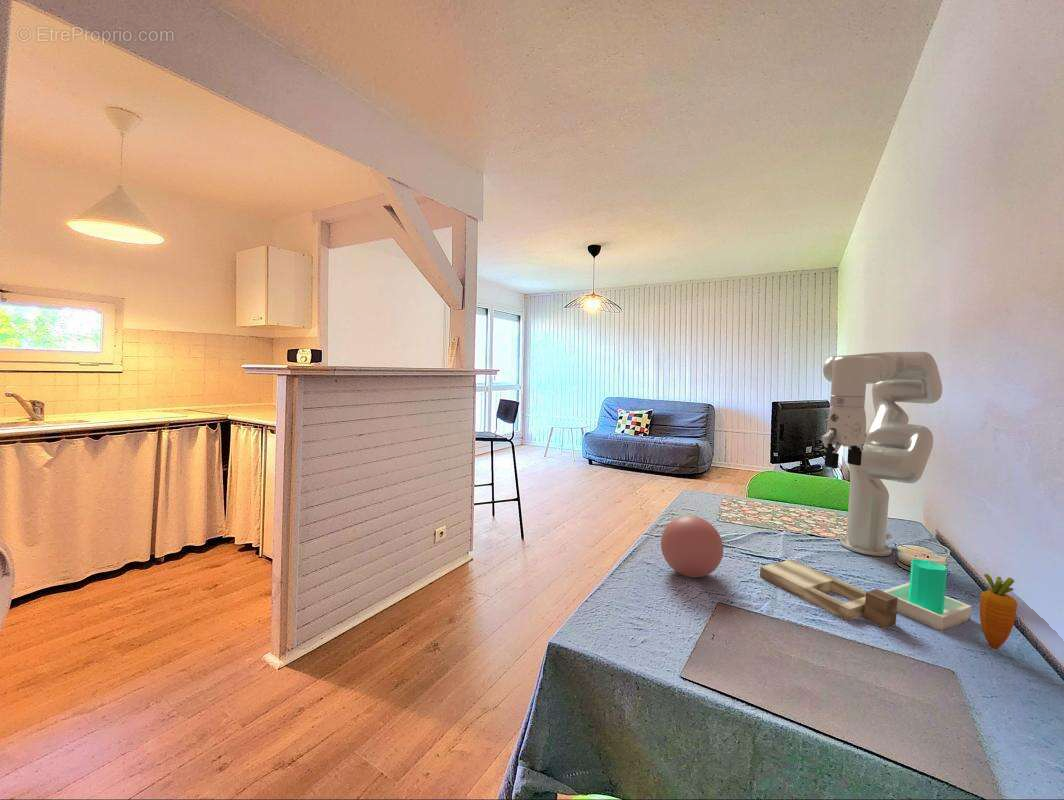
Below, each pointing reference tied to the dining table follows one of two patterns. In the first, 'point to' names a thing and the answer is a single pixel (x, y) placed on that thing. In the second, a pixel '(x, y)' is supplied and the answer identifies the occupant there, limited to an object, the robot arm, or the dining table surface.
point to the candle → (928, 585)
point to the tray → (951, 616)
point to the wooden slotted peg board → (816, 587)
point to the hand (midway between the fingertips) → (842, 465)
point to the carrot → (997, 611)
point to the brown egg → (692, 546)
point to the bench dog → (880, 608)
